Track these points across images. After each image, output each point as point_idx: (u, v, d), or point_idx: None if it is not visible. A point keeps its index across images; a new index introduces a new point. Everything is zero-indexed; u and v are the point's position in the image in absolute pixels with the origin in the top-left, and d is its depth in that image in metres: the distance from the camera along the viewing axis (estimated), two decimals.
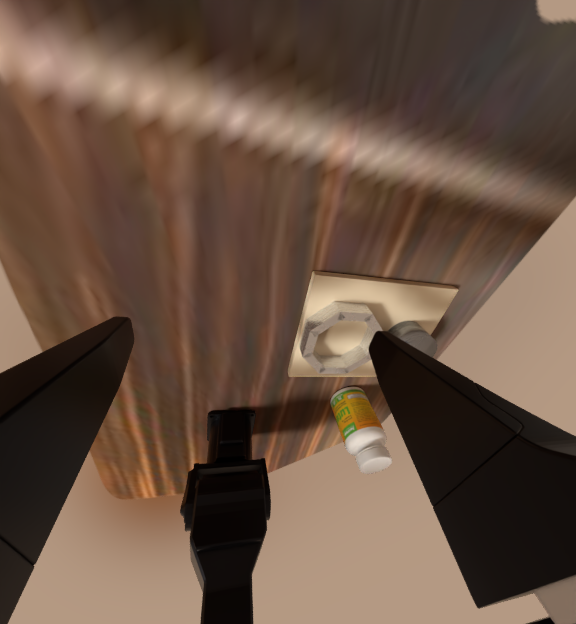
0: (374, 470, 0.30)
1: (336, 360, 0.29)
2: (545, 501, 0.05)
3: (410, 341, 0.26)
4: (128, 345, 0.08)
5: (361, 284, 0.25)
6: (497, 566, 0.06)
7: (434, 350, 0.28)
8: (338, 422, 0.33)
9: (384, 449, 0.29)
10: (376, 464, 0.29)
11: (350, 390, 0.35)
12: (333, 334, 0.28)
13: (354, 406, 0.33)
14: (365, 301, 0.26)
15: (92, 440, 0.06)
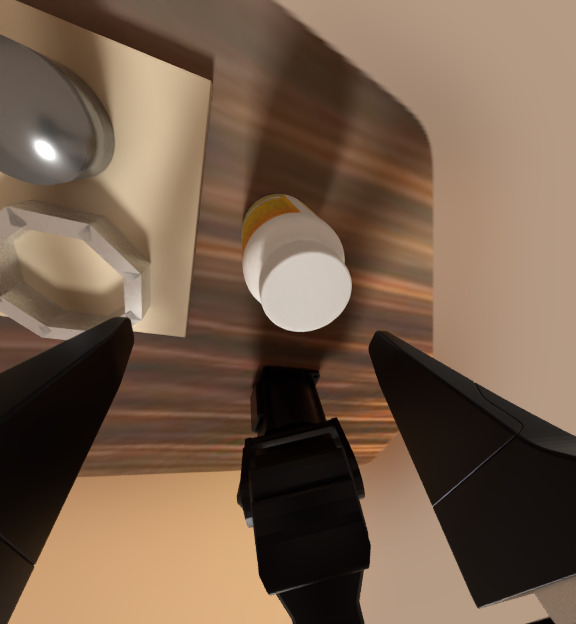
0: (331, 296, 0.11)
1: None
2: (545, 502, 0.05)
3: None
4: (128, 345, 0.08)
5: None
6: (497, 566, 0.06)
7: None
8: None
9: (268, 261, 0.10)
10: (300, 296, 0.10)
11: (241, 235, 0.17)
12: (82, 279, 0.17)
13: None
14: None
15: (92, 440, 0.06)
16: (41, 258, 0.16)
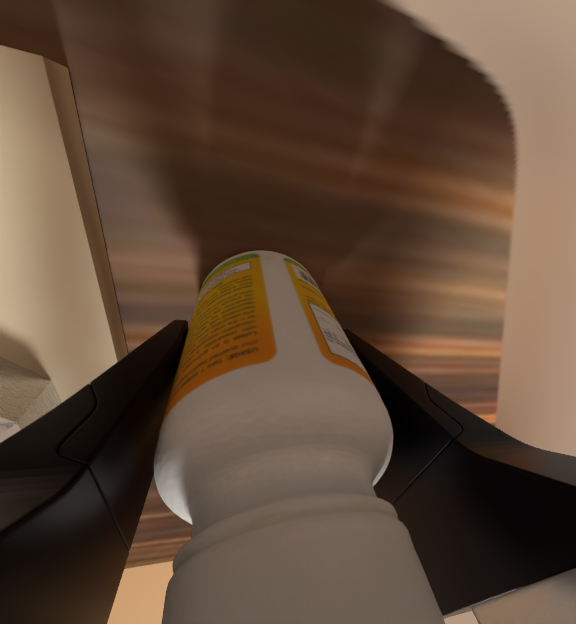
0: None
1: None
2: (477, 513, 0.05)
3: None
4: None
5: None
6: (436, 580, 0.05)
7: None
8: None
9: (174, 593, 0.03)
10: None
11: None
12: None
13: None
14: None
15: None
16: None
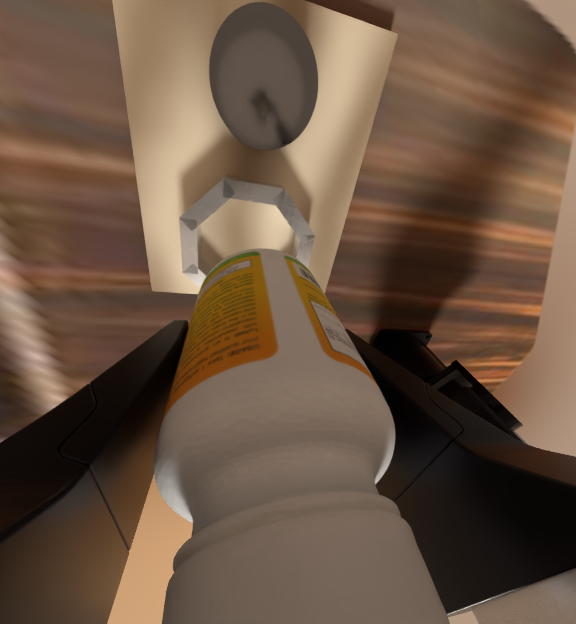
0: None
1: (294, 246, 0.18)
2: (477, 513, 0.05)
3: (224, 119, 0.12)
4: None
5: (151, 224, 0.16)
6: (436, 580, 0.05)
7: (257, 11, 0.10)
8: None
9: (174, 592, 0.03)
10: None
11: None
12: None
13: None
14: (181, 210, 0.16)
15: None
16: (219, 233, 0.17)
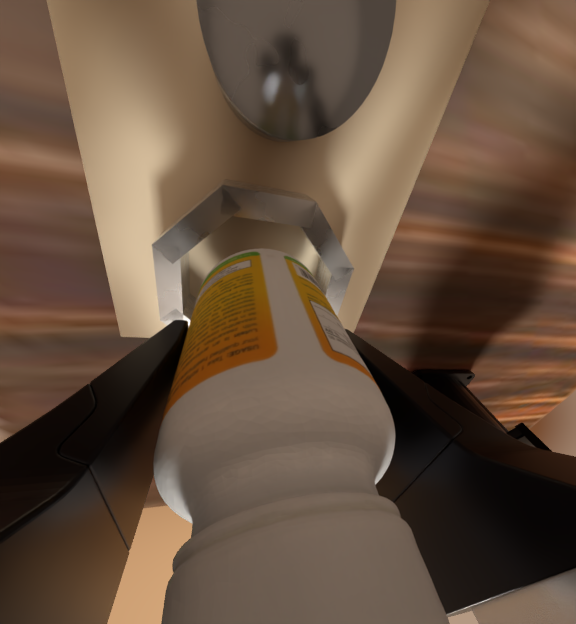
0: None
1: (320, 279, 0.13)
2: (477, 513, 0.05)
3: (224, 81, 0.07)
4: None
5: (114, 249, 0.11)
6: (436, 580, 0.05)
7: None
8: None
9: (173, 593, 0.03)
10: None
11: None
12: None
13: None
14: (159, 229, 0.11)
15: None
16: (215, 260, 0.12)
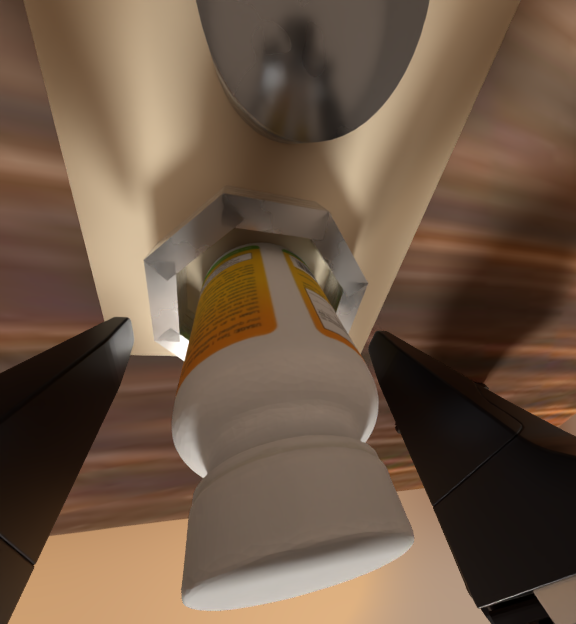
0: (365, 561, 0.04)
1: (330, 293, 0.12)
2: (544, 501, 0.05)
3: (226, 73, 0.05)
4: (128, 345, 0.08)
5: (104, 262, 0.10)
6: (497, 566, 0.06)
7: None
8: None
9: (197, 511, 0.04)
10: (286, 582, 0.04)
11: None
12: None
13: None
14: (153, 241, 0.10)
15: (92, 440, 0.06)
16: None
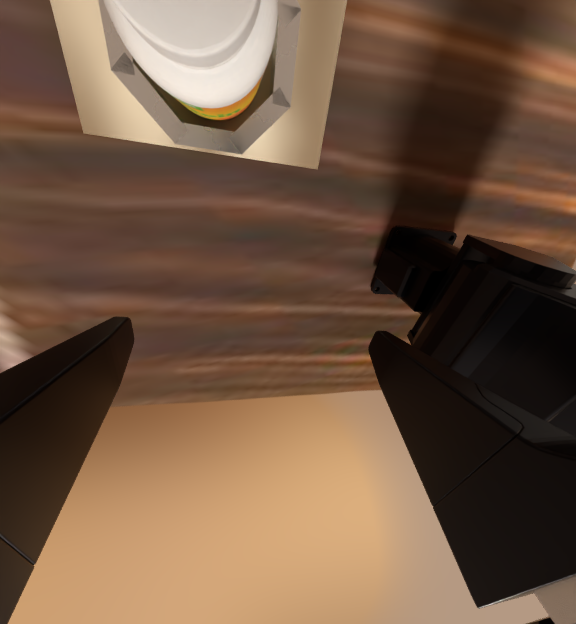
0: None
1: (274, 49, 0.13)
2: (545, 502, 0.05)
3: None
4: (128, 345, 0.08)
5: (62, 0, 0.11)
6: (497, 566, 0.06)
7: None
8: (211, 115, 0.11)
9: None
10: None
11: None
12: None
13: None
14: None
15: (92, 440, 0.06)
16: None
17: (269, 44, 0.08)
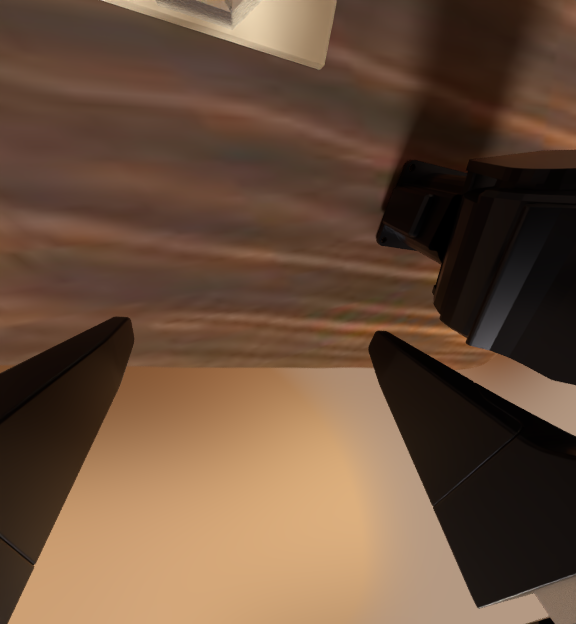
0: None
1: None
2: (545, 502, 0.05)
3: None
4: (128, 345, 0.08)
5: None
6: (497, 566, 0.06)
7: None
8: None
9: None
10: None
11: None
12: None
13: None
14: None
15: (92, 440, 0.06)
16: None
17: None
